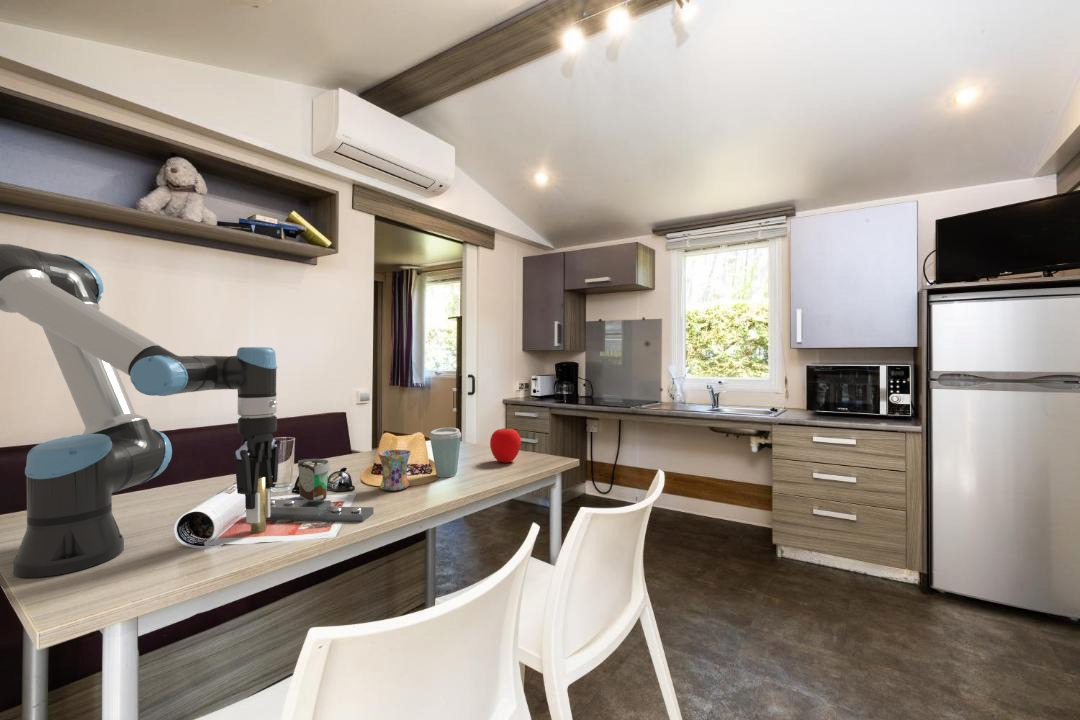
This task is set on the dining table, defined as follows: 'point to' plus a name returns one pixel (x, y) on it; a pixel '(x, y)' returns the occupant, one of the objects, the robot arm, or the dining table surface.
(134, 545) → the dining table surface
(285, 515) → the grey studded plate
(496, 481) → the dining table surface
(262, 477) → the pin
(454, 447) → the disposable coffee cup
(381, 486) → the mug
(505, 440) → the red apple
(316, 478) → the food container
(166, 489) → the dining table surface
